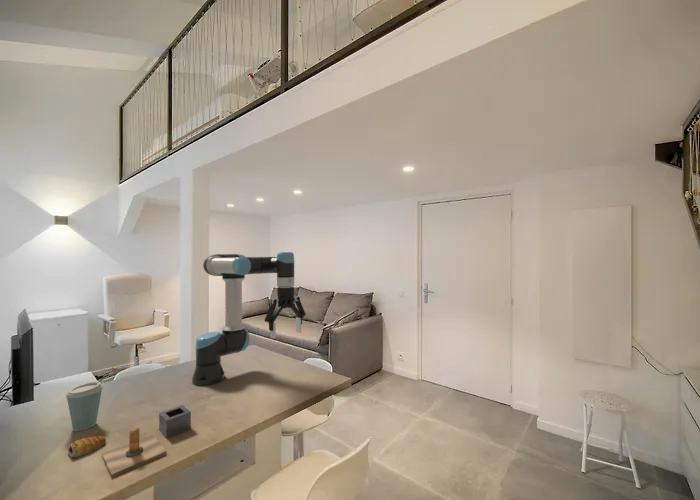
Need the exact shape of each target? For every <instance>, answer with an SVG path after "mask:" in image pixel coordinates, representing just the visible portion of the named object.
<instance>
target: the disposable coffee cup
mask: <svg viewBox="0 0 700 500" xmlns="http://www.w3.org/2000/svg"><path fill="white" fill-rule="evenodd" d="M102 390H103V384H102V383H101V382H100V381H96V380H95V381H89V382H85V383H83V384H79V385H77V386H74V387H73V388H70V389H69V390H68V391H67V392H66V396H65V398H66V400H67V405H68V410H69V415H70V421H71V426H72V429H73V431H74V432H81V431H84V430H88V429H91V428H92V427H94V426H95V425H96V423H97V421H98V420H97V419H98V414H99V409H100V403H101V398H102V397H101V395H102Z"/></svg>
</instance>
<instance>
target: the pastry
mask: <svg viewBox="0 0 700 500" xmlns="http://www.w3.org/2000/svg"><path fill="white" fill-rule="evenodd" d="M106 443H107V440H106V437H105V435H97V436H90V437H82V439H77V440H76V441H75V442H72V443H71V442H70V444H69V446H68V450H67V452H68V456H70V457H71V458H79V457H82V456H83V455H88V454H90V453H91V452H94V451H95V450H97V449H99V448H101V447H103V445H105V444H106Z"/></svg>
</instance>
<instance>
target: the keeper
mask: <svg viewBox="0 0 700 500" xmlns="http://www.w3.org/2000/svg"><path fill="white" fill-rule="evenodd" d="M128 434H129V436H128V437H129V441H128V443H127V444H124V445H121V446H119V447H117V448H114V449H112V450H109V451H106V452H103V453H102V454H101V457H102V460H103V462H104V465H105V466H106V469H107V470H108V473H109V475H110V477H111V478H115V477H117V476H120V475H122V474H124V473H126V472H129V471H131V470H133V469H136V468H138V467H141V466H142V465H145V464H148V463H149V462H152V461H155V460H156V459H159V458H161V457H164V456H166V455H167V450H166V448H165V447H164V446H163V445H162V444H161V443H160V441H159V440H158V439H157V438H156V436H155V435H154V434H150V435H147V436H145V437H142V438H140V427H135V428H132V429H129V433H128Z"/></svg>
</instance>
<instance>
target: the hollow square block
mask: <svg viewBox="0 0 700 500" xmlns="http://www.w3.org/2000/svg"><path fill="white" fill-rule="evenodd" d="M191 413H192V412H191V411H190V410H189V409H188V408H187V407H186V406H184V405H179V406H176V407H173V408H170V409H167V410H164V411H162V412H159V413H158V414H159V415H158V421H159V422H158V430H159V431H160V433H161V434H162V435H163V436H164V437H165V438H166V439H168V438H170V437H174V436H177V435H178V434H180V433H183V432H186V431H188V430H191V429H192V422H191V421H192V419H191V418H192V414H191Z"/></svg>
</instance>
